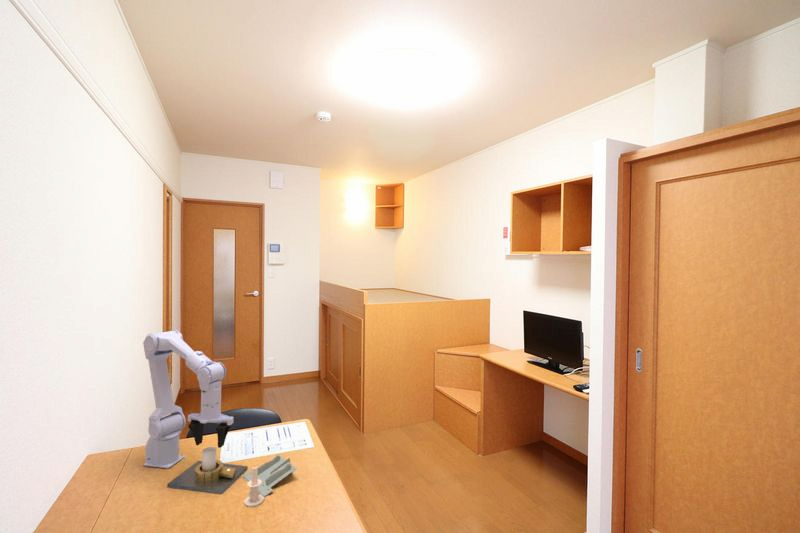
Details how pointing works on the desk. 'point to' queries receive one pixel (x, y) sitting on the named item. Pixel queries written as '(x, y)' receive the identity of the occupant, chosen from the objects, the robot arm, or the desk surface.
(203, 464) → the white rounded block
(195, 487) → the fitting plate
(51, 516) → the desk surface
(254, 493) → the beige turned upright piece
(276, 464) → the metal bracket
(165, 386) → the robot arm
